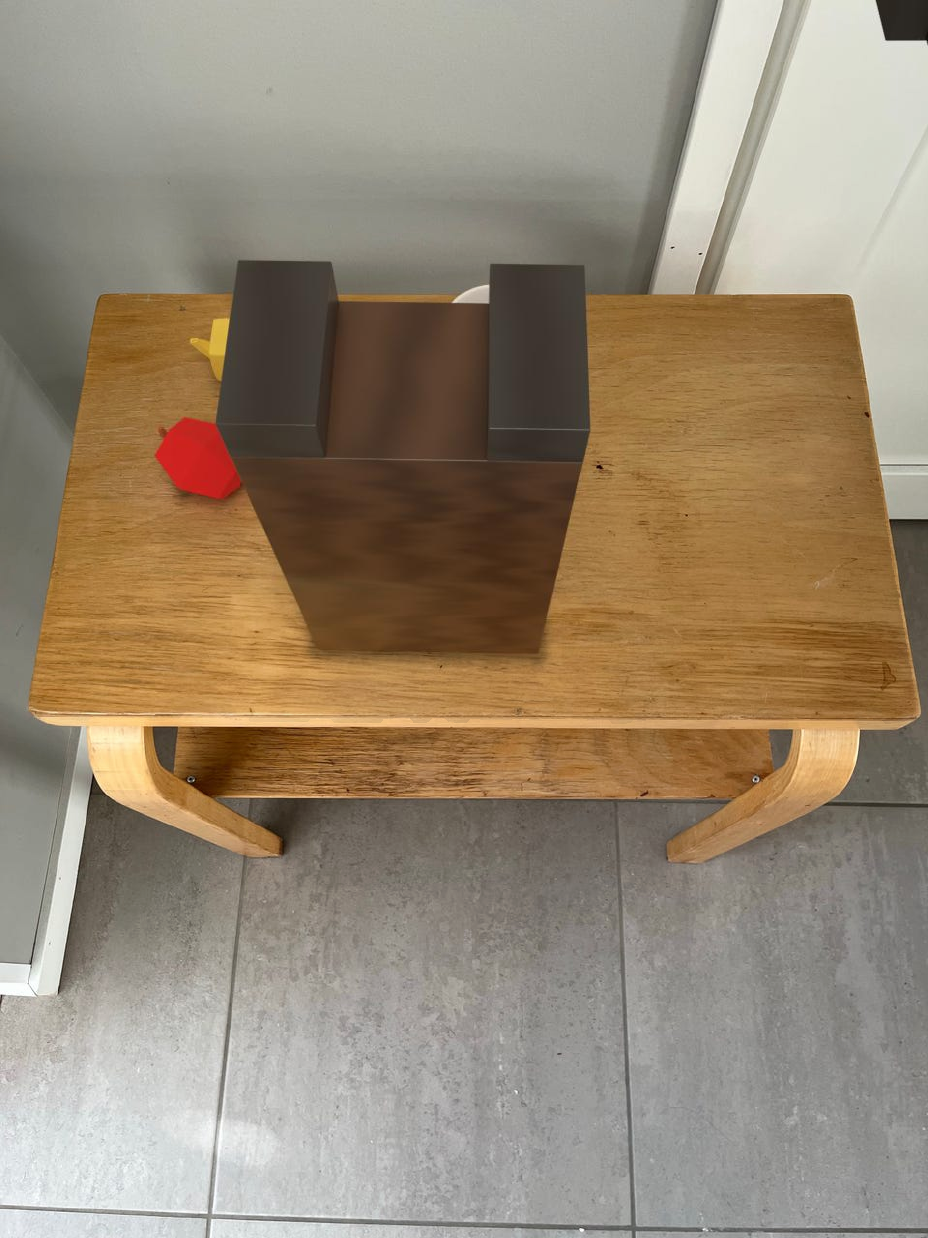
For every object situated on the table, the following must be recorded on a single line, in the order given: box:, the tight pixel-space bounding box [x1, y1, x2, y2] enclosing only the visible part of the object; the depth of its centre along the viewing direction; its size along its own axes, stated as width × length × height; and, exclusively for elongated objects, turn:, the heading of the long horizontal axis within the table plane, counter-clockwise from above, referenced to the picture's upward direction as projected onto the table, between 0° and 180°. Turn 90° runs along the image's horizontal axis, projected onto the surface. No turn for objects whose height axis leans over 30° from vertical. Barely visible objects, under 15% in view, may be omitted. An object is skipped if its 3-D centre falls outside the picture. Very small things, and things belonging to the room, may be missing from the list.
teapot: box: [189, 317, 230, 382], centre depth 82 cm, size 8×6×5 cm
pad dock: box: [214, 259, 591, 655], centre depth 61 cm, size 18×10×33 cm, turn 89°
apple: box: [154, 416, 242, 501], centre depth 78 cm, size 7×7×8 cm
